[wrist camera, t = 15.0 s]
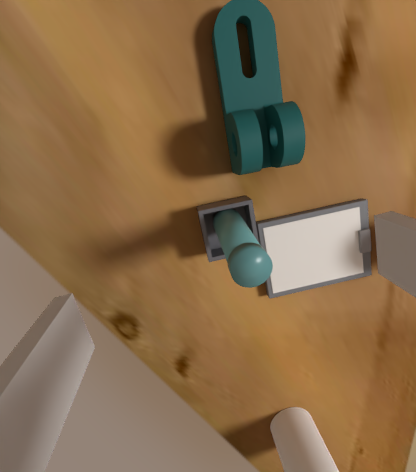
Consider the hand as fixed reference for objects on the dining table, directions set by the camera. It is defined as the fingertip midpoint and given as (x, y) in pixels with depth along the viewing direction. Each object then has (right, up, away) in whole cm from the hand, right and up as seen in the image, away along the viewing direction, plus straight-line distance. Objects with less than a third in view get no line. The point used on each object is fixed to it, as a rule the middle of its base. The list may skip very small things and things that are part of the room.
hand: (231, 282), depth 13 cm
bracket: (+4, +19, +24) cm, 31 cm away
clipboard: (+14, 0, +30) cm, 33 cm away
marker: (+1, +4, +27) cm, 27 cm away
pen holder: (+1, +3, +28) cm, 28 cm away
